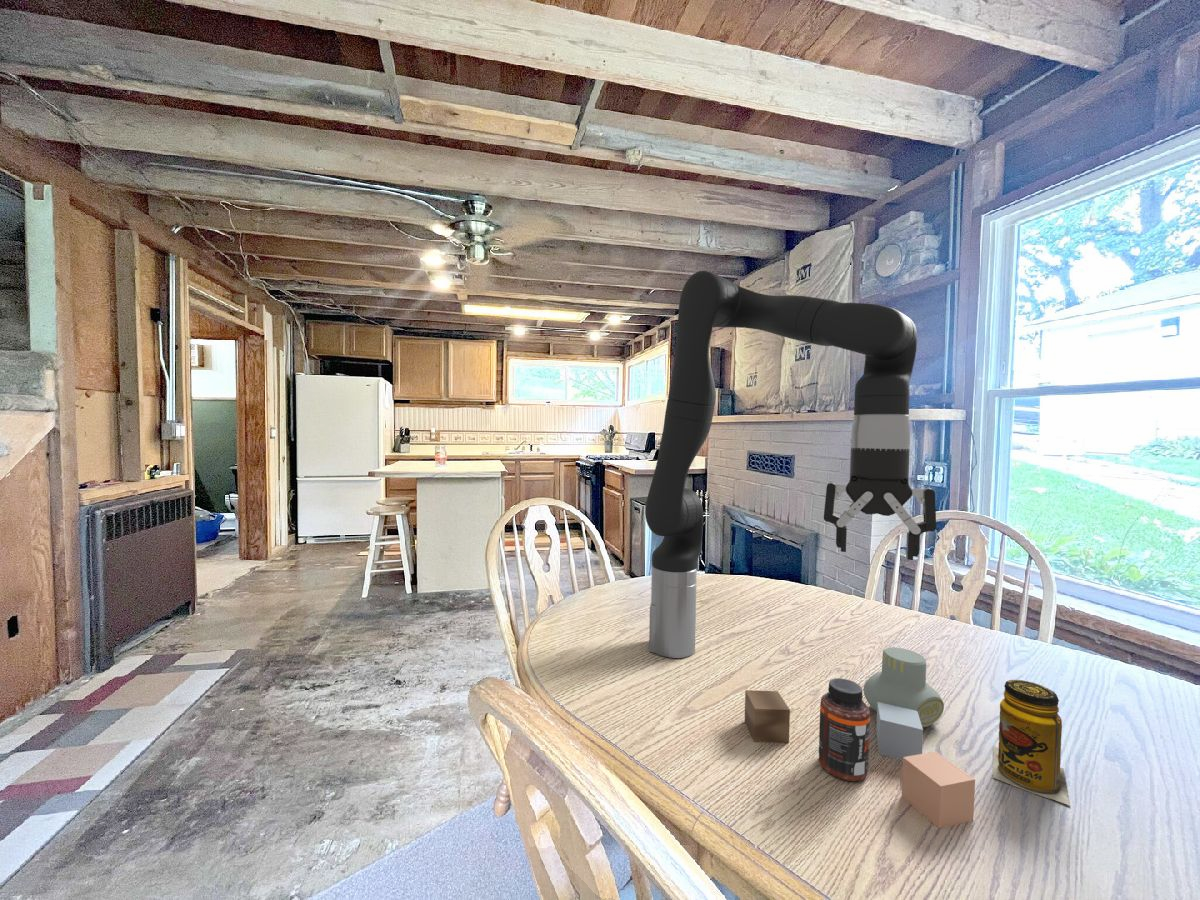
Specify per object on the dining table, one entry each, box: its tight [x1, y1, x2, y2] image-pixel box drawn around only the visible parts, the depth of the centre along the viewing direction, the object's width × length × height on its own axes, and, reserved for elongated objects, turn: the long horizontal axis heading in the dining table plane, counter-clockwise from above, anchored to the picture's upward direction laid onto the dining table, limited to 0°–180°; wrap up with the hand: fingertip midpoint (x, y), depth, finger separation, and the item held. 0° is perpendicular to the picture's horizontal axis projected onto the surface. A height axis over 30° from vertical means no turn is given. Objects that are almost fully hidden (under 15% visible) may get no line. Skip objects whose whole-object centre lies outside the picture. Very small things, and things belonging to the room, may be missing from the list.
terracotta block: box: [901, 751, 976, 829], centre depth 57 cm, size 5×5×5 cm
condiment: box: [992, 679, 1071, 807], centre depth 63 cm, size 7×8×12 cm
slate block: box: [875, 702, 924, 761], centre depth 68 cm, size 5×5×5 cm
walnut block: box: [744, 689, 791, 744], centre depth 71 cm, size 5×5×5 cm
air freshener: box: [862, 646, 945, 728], centre depth 76 cm, size 11×8×10 cm
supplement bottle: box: [818, 677, 871, 782], centre depth 64 cm, size 6×6×11 cm
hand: (875, 554), depth 71 cm, fingers open, 8 cm apart
